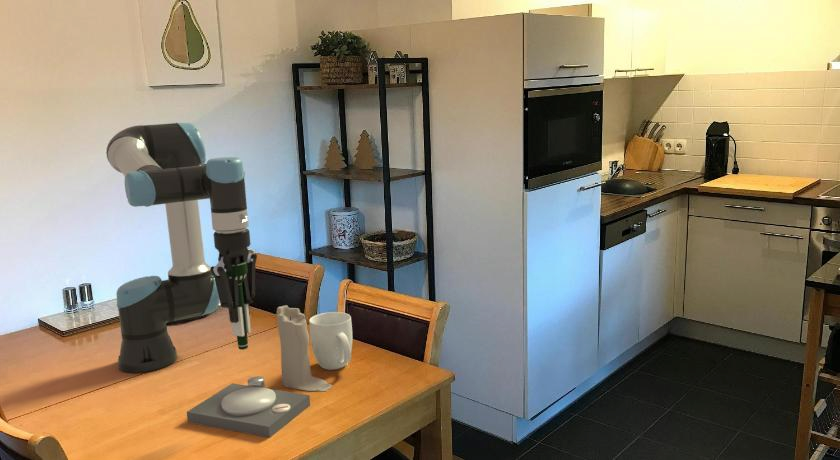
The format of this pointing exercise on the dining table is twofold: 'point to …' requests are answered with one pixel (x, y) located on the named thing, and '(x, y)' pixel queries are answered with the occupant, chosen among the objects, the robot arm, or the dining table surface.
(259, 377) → the spacer
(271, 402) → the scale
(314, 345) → the mug
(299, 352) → the candle
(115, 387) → the dining table surface
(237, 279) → the flashlight
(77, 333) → the dining table surface
